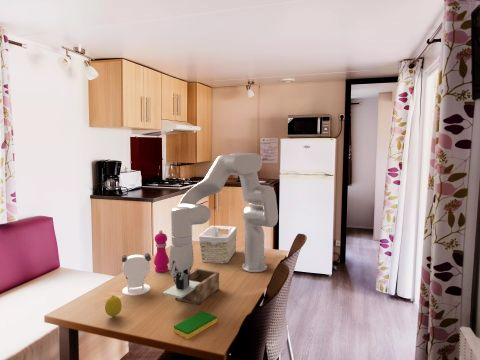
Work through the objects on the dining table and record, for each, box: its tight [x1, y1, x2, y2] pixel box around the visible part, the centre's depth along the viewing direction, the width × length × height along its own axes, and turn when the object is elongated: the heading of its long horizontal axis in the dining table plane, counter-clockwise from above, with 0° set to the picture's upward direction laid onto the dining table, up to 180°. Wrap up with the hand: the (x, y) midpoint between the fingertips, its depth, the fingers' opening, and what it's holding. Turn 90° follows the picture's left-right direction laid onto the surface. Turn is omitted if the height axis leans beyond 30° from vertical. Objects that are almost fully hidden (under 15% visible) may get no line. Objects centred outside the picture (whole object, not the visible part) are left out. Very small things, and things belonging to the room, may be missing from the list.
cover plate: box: [162, 273, 201, 299], centre depth 133 cm, size 14×8×6 cm, turn 154°
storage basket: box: [198, 225, 238, 264], centre depth 191 cm, size 24×16×15 cm
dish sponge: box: [173, 310, 218, 340], centre depth 118 cm, size 7×14×2 cm, turn 141°
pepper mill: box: [153, 230, 169, 273], centre depth 170 cm, size 7×7×20 cm
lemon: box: [104, 295, 123, 318], centre depth 124 cm, size 6×6×8 cm
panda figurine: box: [121, 252, 152, 297], centre depth 148 cm, size 12×11×15 cm
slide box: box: [174, 268, 220, 306], centre depth 143 cm, size 16×11×8 cm
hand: (182, 286), depth 133 cm, fingers closed on cover plate, 3 cm apart
